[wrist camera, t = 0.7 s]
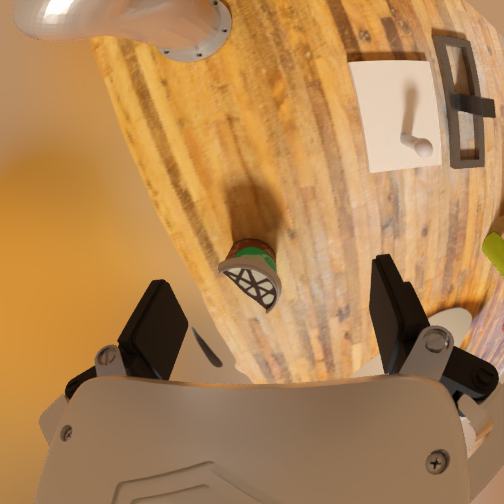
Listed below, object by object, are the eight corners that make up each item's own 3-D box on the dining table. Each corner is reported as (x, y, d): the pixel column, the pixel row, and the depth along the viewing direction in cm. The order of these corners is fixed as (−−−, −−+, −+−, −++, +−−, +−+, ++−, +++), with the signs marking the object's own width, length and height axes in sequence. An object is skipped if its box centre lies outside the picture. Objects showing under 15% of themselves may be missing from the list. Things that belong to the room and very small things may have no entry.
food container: (295, 264, 52) (296, 300, 44) (271, 279, 55) (268, 316, 46) (251, 219, 48) (244, 250, 39) (227, 238, 50) (215, 271, 42)
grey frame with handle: (431, 36, 24) (456, 30, 18) (465, 41, 23) (491, 39, 16) (450, 166, 37) (474, 182, 30) (480, 164, 35) (504, 179, 28)
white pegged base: (346, 63, 31) (363, 55, 23) (424, 61, 28) (454, 59, 20) (367, 170, 40) (386, 190, 32) (437, 162, 37) (465, 180, 29)
